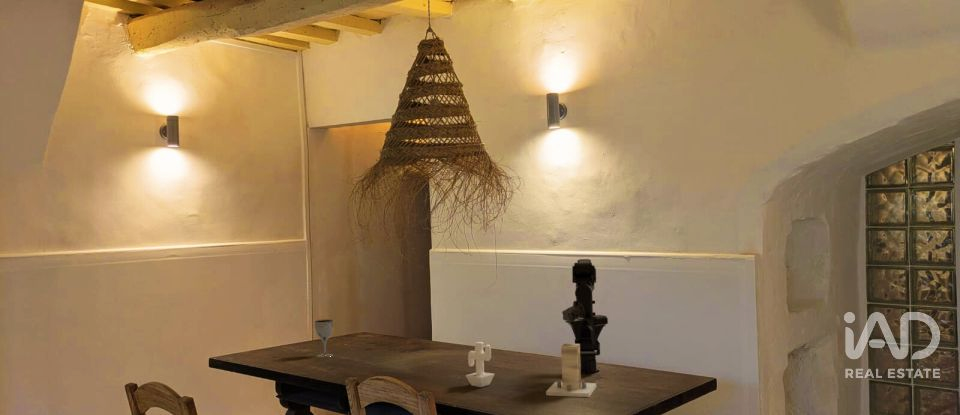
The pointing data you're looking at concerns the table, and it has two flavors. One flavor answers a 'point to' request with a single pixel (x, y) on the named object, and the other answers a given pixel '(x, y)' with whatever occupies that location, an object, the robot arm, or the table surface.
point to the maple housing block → (571, 366)
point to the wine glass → (324, 333)
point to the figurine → (479, 365)
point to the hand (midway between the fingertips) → (585, 342)
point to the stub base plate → (571, 390)
